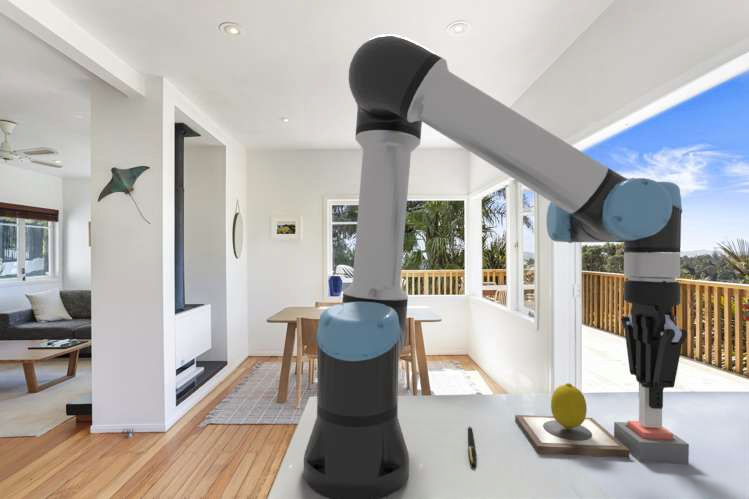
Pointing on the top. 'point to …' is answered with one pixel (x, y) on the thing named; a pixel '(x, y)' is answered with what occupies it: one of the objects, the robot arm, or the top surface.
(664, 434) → the button
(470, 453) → the fountain pen
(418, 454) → the top surface
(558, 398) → the lemon
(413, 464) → the top surface
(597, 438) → the board
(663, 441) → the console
